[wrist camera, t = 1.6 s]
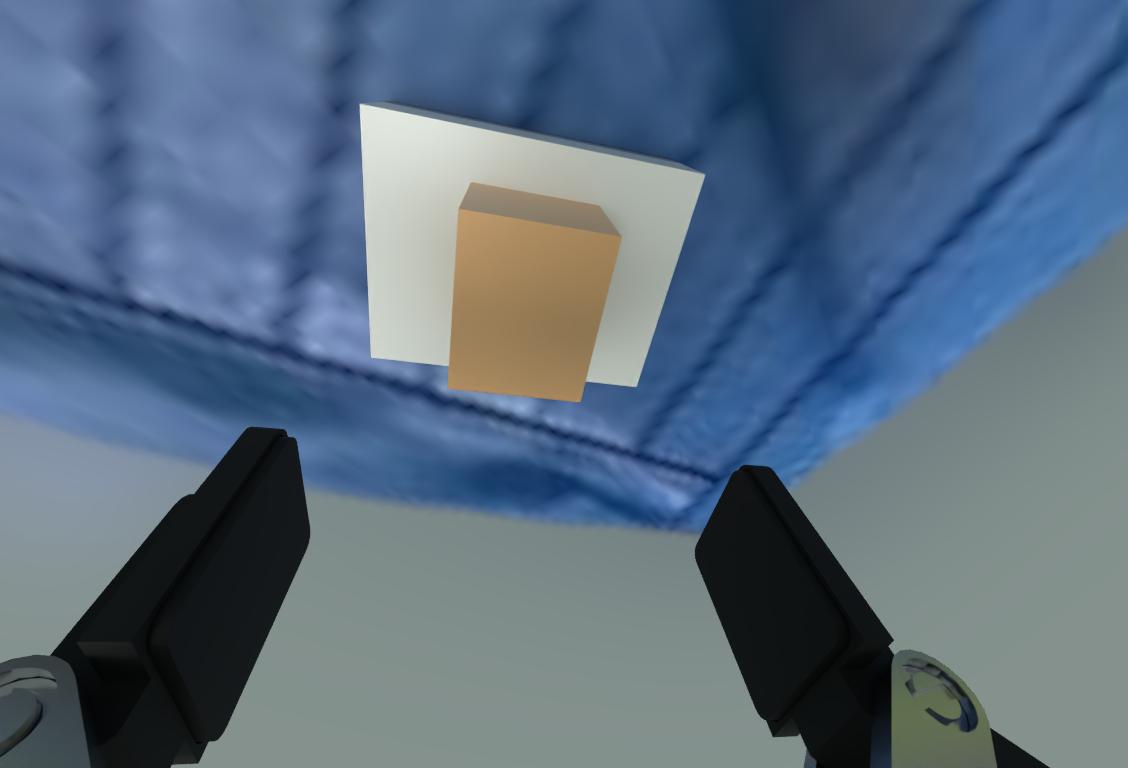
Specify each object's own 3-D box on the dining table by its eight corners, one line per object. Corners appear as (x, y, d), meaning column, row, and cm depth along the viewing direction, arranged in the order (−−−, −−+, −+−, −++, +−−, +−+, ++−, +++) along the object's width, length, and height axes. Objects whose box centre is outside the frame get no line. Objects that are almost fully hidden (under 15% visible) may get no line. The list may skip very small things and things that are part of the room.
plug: (588, 191, 22) (622, 236, 15) (562, 319, 26) (580, 402, 19) (476, 170, 21) (458, 208, 14) (466, 306, 25) (447, 388, 18)
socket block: (671, 159, 23) (705, 174, 19) (619, 344, 29) (636, 387, 25) (390, 100, 21) (359, 103, 17) (393, 315, 27) (371, 357, 23)
